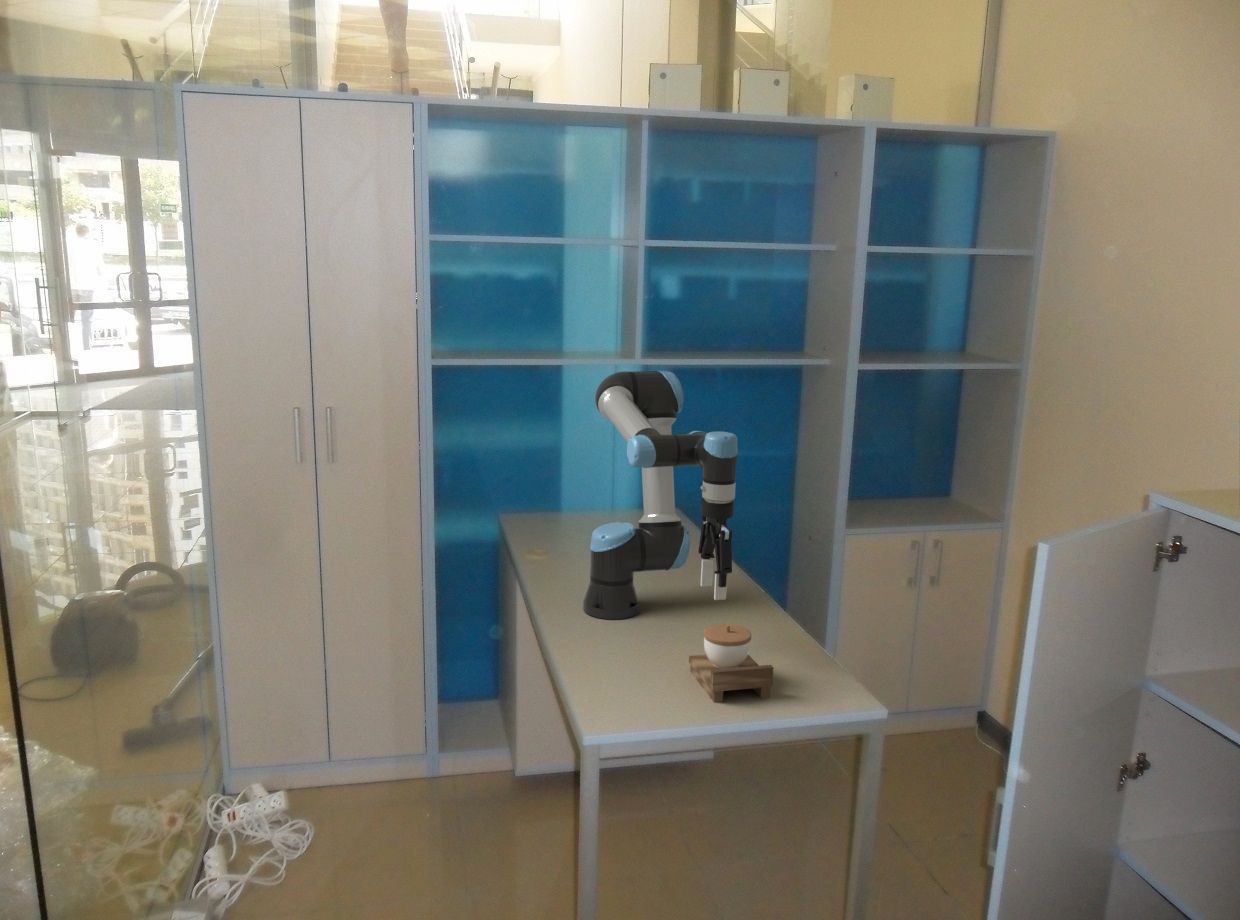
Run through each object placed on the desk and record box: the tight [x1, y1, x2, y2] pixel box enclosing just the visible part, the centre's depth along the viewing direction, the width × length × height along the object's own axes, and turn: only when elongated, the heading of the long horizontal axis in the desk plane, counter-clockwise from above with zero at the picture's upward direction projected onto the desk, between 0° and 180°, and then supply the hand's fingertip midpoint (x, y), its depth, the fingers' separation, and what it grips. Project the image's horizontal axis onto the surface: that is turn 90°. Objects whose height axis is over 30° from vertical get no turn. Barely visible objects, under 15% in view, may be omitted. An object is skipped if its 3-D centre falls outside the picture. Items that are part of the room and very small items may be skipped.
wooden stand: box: [688, 653, 775, 703], centre depth 222 cm, size 16×14×7 cm
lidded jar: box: [703, 623, 752, 669], centre depth 222 cm, size 11×11×9 cm
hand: (713, 592), depth 231 cm, fingers open, 9 cm apart
